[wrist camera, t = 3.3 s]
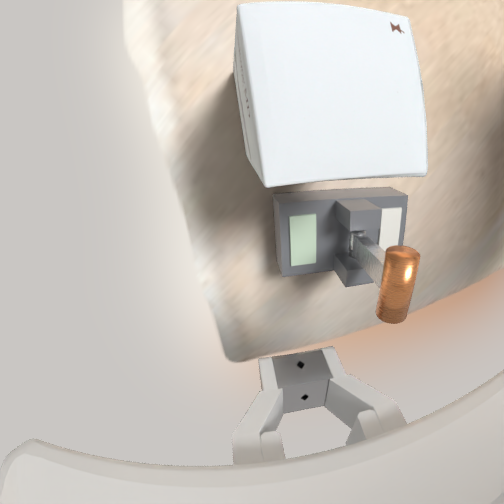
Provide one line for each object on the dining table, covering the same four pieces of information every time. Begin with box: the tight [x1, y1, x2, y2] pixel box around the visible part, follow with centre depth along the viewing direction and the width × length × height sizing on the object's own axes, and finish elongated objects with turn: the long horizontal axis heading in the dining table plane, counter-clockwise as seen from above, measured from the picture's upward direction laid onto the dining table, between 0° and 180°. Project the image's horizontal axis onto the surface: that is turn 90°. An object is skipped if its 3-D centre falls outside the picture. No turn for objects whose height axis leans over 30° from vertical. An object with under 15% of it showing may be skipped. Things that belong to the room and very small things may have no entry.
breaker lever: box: [348, 230, 420, 324], centre depth 16 cm, size 2×4×8 cm, turn 5°
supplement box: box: [233, 1, 428, 188], centre depth 13 cm, size 7×7×13 cm
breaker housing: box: [273, 187, 408, 287], centre depth 21 cm, size 11×6×6 cm, turn 95°
